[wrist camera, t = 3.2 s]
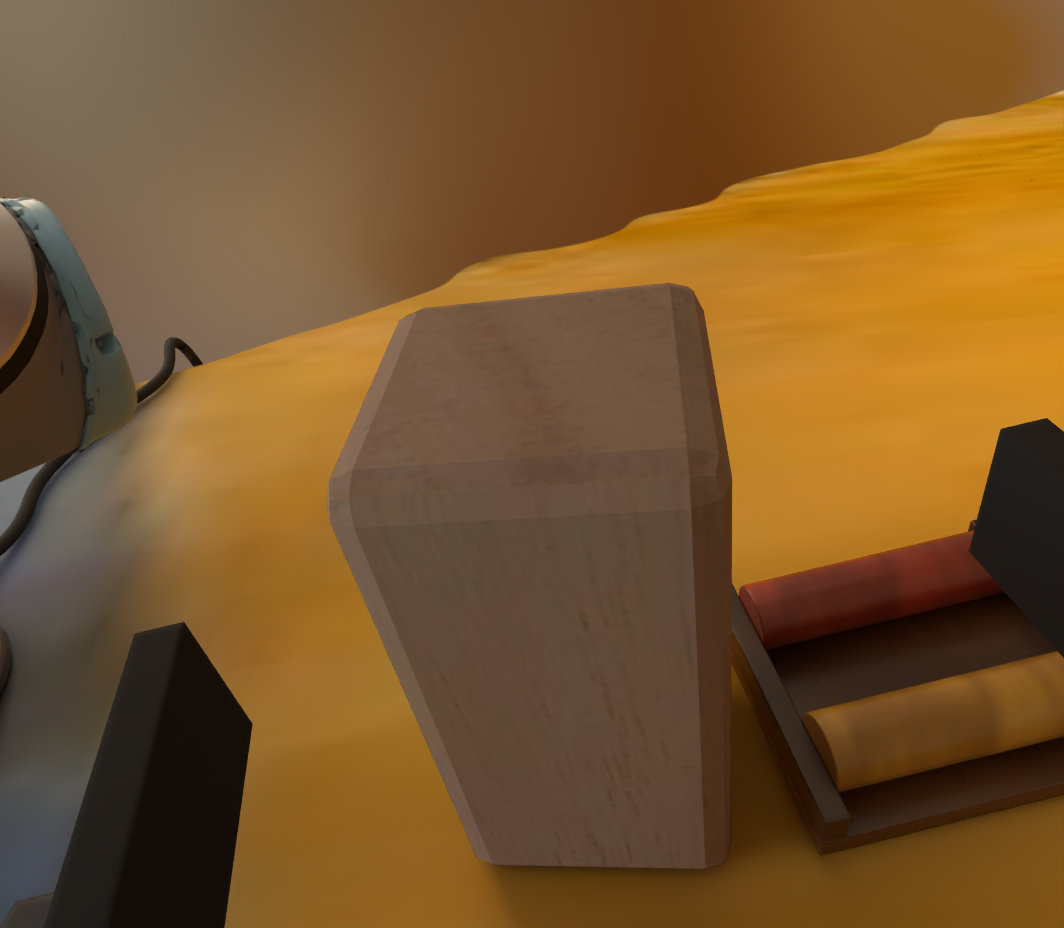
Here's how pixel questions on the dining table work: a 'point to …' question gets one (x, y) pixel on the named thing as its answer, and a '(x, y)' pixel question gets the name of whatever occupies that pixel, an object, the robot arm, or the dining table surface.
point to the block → (555, 569)
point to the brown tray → (900, 692)
